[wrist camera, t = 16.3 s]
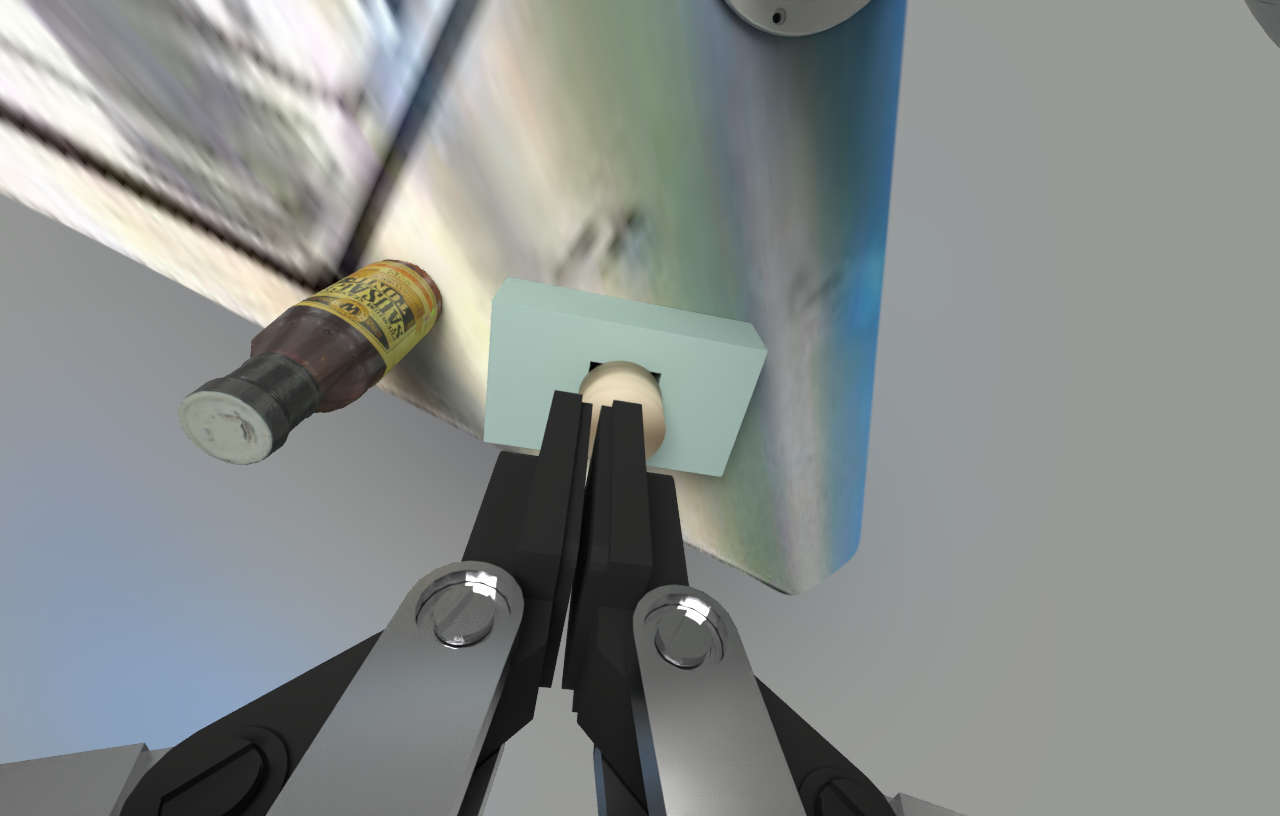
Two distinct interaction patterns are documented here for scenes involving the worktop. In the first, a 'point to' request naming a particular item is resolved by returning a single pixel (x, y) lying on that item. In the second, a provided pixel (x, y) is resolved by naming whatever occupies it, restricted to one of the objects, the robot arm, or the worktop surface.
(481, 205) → the worktop surface
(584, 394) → the pin
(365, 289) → the sauce bottle
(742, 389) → the block
